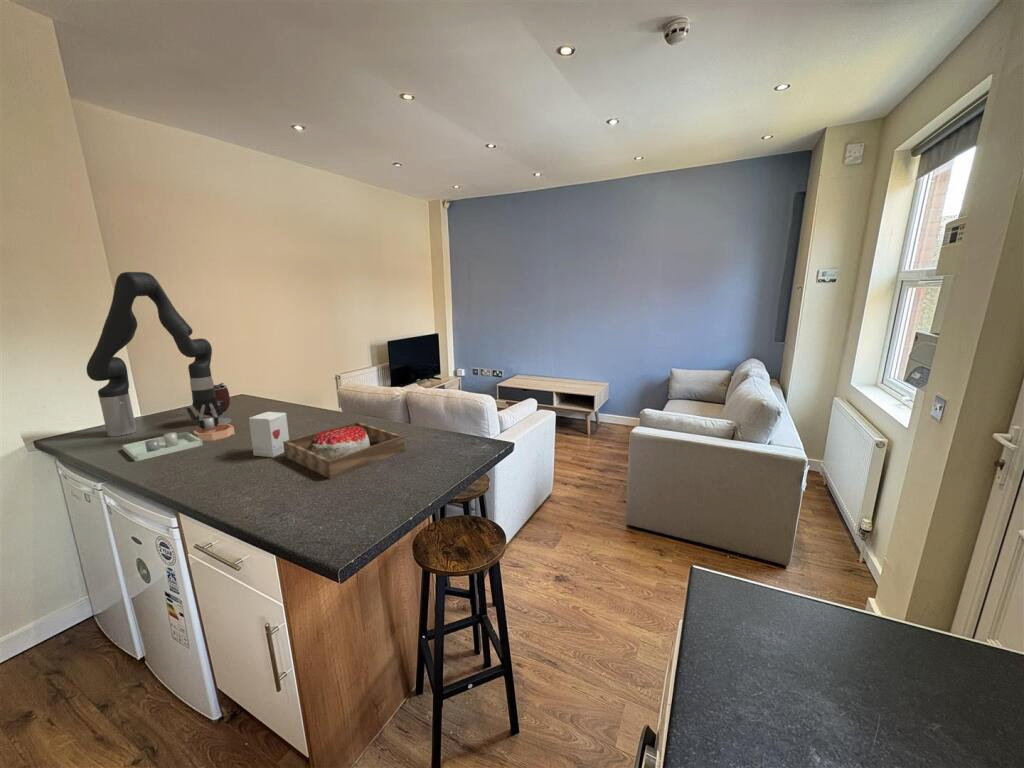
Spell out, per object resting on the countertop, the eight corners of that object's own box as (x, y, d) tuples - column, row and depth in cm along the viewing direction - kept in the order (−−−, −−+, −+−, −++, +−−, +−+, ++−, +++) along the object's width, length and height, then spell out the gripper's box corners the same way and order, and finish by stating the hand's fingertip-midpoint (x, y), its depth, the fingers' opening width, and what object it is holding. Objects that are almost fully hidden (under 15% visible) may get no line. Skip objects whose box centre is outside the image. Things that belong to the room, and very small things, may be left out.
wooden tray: (285, 456, 149) (283, 441, 148) (357, 434, 173) (356, 421, 172) (330, 479, 131) (328, 461, 130) (404, 451, 155) (404, 436, 154)
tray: (123, 452, 153) (122, 445, 152) (188, 438, 169) (186, 431, 168) (135, 463, 143) (134, 456, 142) (203, 447, 158) (202, 440, 158)
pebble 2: (164, 446, 157) (162, 434, 156) (176, 443, 160) (174, 431, 159) (167, 448, 155) (165, 436, 153) (179, 445, 158) (177, 433, 156)
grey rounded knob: (146, 454, 149) (143, 441, 148) (159, 451, 152) (157, 438, 151) (149, 456, 147) (146, 443, 145) (162, 453, 150) (160, 440, 148)
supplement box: (273, 458, 148) (268, 419, 145) (252, 456, 150) (247, 417, 147) (291, 449, 157) (286, 412, 154) (271, 447, 159) (266, 411, 156)
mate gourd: (189, 426, 185) (182, 383, 180) (218, 417, 198) (212, 377, 193) (214, 429, 180) (207, 386, 176) (242, 420, 193) (236, 379, 189)
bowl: (191, 438, 168) (189, 429, 167) (226, 430, 178) (225, 422, 177) (202, 445, 161) (200, 435, 160) (238, 436, 171) (236, 427, 170)
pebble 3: (202, 429, 168) (200, 418, 167) (213, 427, 171) (211, 416, 170) (205, 431, 166) (204, 420, 165) (216, 429, 169) (214, 417, 168)
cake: (350, 439, 169) (347, 416, 166) (381, 453, 153) (379, 428, 151) (292, 455, 152) (289, 430, 149) (321, 473, 136) (318, 445, 134)
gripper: (219, 383, 173) (225, 421, 176) (178, 389, 161) (185, 429, 165) (226, 385, 168) (232, 424, 172) (184, 392, 157) (191, 433, 161)
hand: (209, 427), depth 168 cm, fingers closed on pebble 3, 4 cm apart
